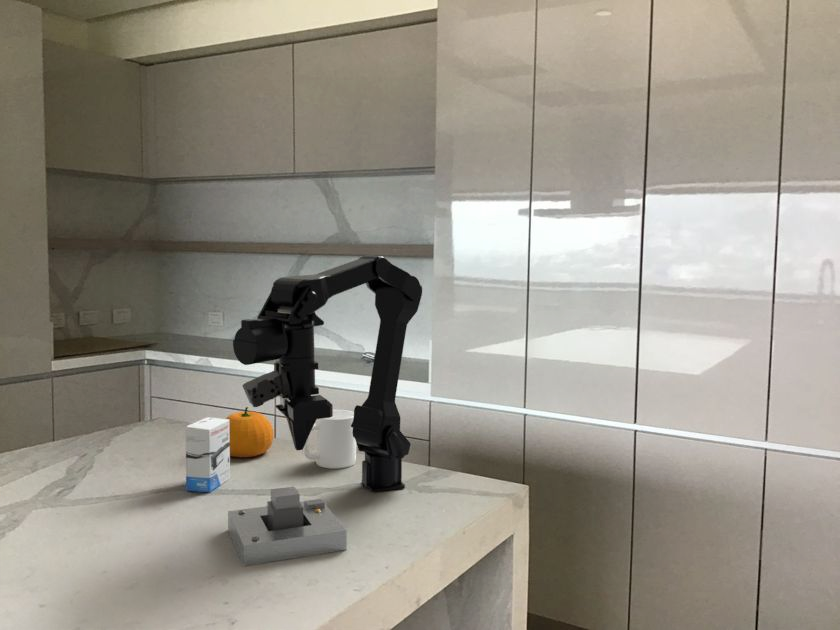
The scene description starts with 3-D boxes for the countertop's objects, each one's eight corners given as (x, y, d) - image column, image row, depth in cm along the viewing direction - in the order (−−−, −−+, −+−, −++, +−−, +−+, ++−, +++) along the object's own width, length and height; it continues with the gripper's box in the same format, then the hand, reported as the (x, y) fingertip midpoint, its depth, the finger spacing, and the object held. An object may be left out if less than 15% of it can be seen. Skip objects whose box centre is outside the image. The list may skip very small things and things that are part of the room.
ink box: (210, 493, 134) (209, 429, 132) (184, 491, 135) (183, 427, 133) (231, 478, 142) (230, 417, 141) (207, 476, 143) (206, 416, 142)
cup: (364, 464, 152) (364, 415, 151) (313, 475, 144) (313, 424, 143) (340, 454, 158) (341, 407, 157) (291, 465, 151) (291, 416, 150)
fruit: (248, 442, 167) (248, 398, 166) (285, 452, 160) (285, 406, 159) (205, 454, 157) (204, 408, 156) (243, 465, 151) (242, 416, 150)
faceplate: (320, 516, 123) (320, 494, 123) (346, 549, 110) (346, 524, 110) (228, 529, 117) (227, 506, 117) (243, 566, 105) (243, 539, 104)
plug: (296, 528, 117) (296, 485, 116) (303, 539, 113) (303, 494, 112) (267, 532, 115) (267, 488, 114) (273, 544, 111) (273, 498, 110)
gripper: (235, 350, 125) (238, 440, 127) (259, 370, 108) (262, 474, 110) (299, 345, 130) (301, 432, 132) (332, 364, 113) (334, 463, 115)
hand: (299, 449), depth 122 cm, fingers closed
